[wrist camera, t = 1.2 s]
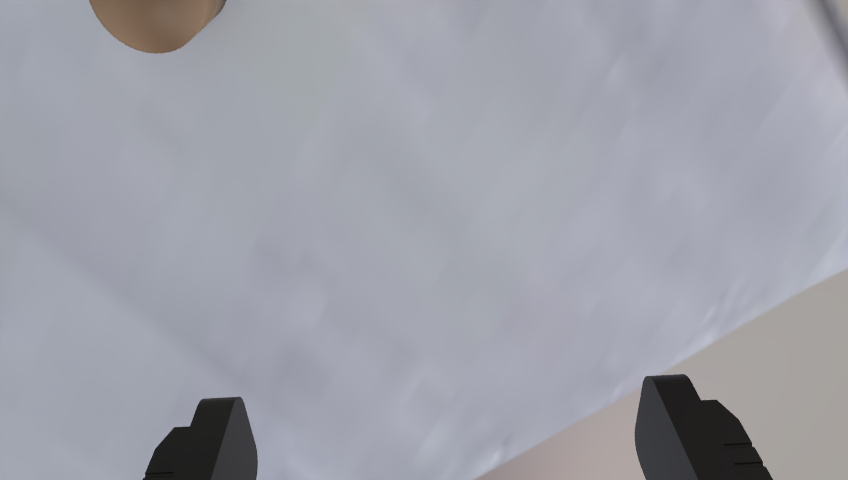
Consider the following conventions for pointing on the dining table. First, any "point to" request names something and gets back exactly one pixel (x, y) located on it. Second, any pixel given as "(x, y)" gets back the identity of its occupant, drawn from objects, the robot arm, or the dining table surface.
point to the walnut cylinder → (155, 21)
